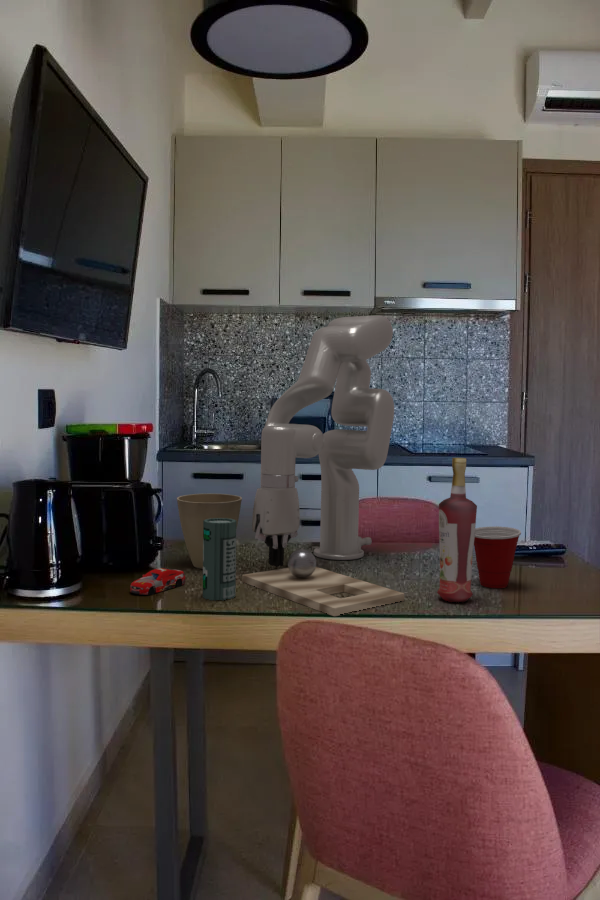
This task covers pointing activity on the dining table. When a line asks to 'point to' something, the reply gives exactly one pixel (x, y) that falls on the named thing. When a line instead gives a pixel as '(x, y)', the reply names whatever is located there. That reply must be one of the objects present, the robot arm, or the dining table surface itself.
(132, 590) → the race car
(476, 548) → the plastic cup
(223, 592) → the can
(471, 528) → the liquor
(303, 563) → the steel ball
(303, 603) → the wooden recessed tray
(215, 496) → the plant pot
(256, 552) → the dining table surface
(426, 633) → the dining table surface
